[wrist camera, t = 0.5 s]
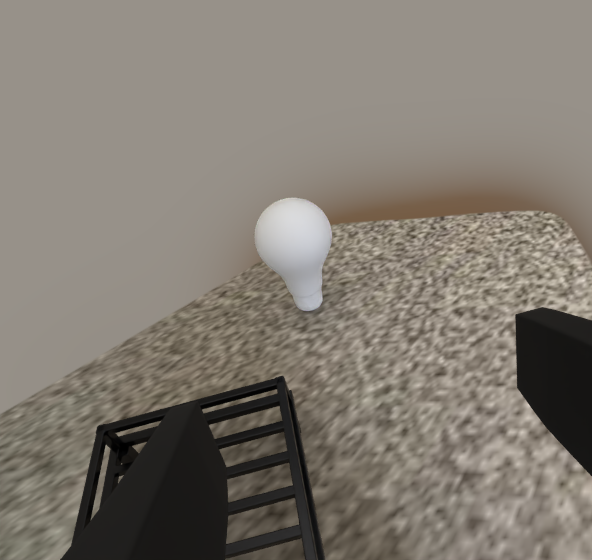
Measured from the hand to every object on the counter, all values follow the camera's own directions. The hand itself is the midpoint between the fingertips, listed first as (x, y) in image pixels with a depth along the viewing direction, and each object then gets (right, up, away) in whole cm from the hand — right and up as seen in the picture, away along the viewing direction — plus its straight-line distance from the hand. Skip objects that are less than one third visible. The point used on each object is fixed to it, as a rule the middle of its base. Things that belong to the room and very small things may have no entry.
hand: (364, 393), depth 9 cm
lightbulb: (0, 0, +29) cm, 29 cm away
